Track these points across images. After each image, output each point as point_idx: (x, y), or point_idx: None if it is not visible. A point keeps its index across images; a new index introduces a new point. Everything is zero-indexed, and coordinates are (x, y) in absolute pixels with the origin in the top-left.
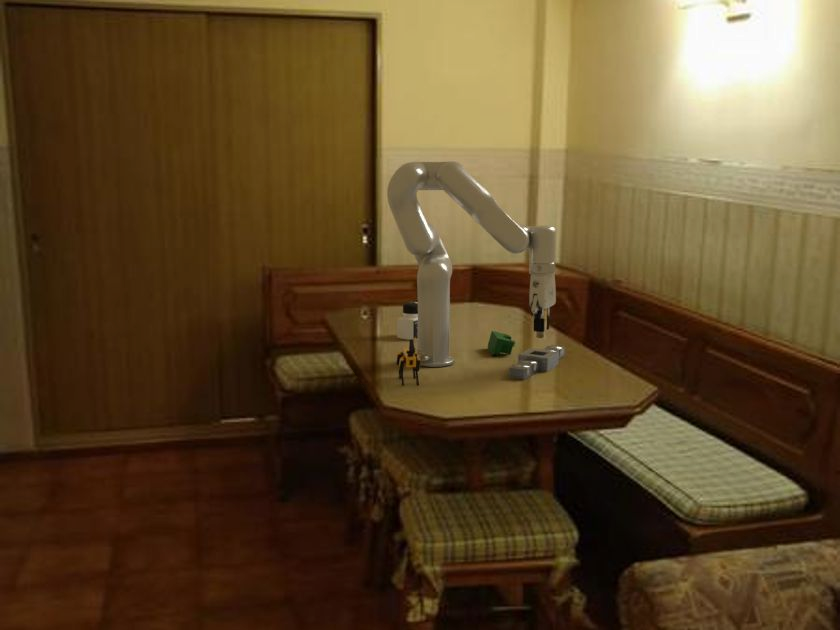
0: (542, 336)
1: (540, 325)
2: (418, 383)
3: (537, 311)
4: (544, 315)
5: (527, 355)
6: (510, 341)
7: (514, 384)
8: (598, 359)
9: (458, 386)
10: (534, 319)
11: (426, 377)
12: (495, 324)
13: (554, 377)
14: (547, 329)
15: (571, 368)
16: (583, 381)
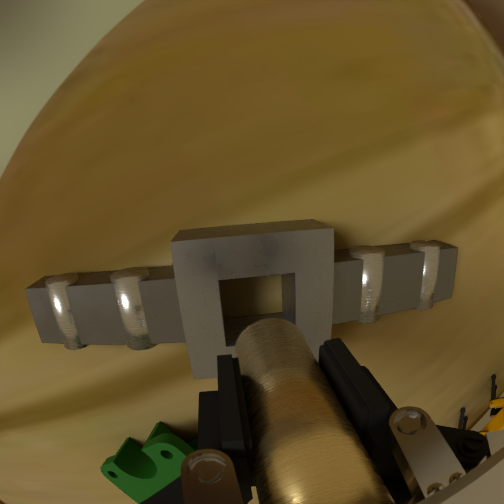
0: (301, 334)
1: (372, 381)
2: (495, 375)
3: (491, 448)
4: (356, 447)
5: (328, 327)
6: (182, 452)
7: (470, 240)
8: (19, 149)
9: (496, 327)
10: None
11: (455, 403)
12: (8, 471)
13: (368, 162)
14: (231, 357)
15: (198, 157)
16: (354, 59)
